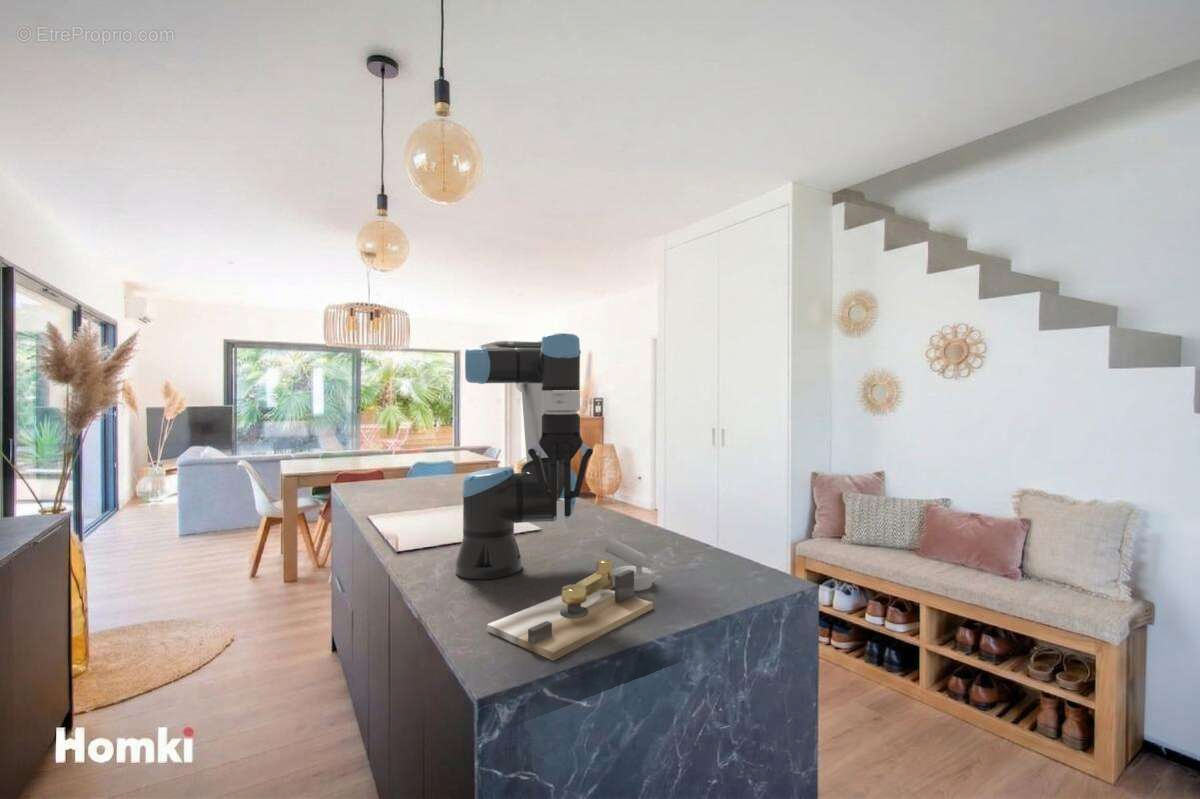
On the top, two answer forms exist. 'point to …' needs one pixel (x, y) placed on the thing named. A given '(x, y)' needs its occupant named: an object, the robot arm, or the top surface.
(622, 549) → the wall hook
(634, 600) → the door plate
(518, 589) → the top surface
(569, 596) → the latch lever
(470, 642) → the top surface
